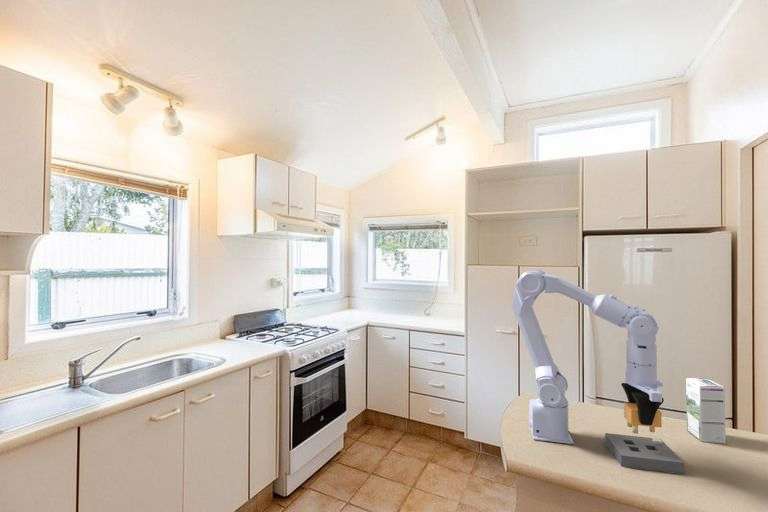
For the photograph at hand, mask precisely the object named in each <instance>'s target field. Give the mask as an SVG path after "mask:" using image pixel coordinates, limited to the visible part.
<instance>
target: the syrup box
mask: <svg viewBox="0 0 768 512" xmlns="http://www.w3.org/2000/svg"><path fill="white" fill-rule="evenodd" d="M685 382H686V383H685V384H686V386H685V390H686V391H685V393H686V399H685V400H686V430H687V432H689V433H690V434H691V435H692V436H694V437H695V438H696V439H697V440H699V441H700V442H702V443H703V442H704V443H711V444H712V443H714V444H726V439H727V438H726V435H727V434H726V396H725V395H726V388H725V386H723V385H722V384H719V383H718V382H715V381H713V380H711V379H708V378H701V377H700V378H699V377H691V378H690V377H688V378H685Z"/></svg>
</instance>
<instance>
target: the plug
mask: <svg viewBox="0 0 768 512" xmlns="http://www.w3.org/2000/svg"><path fill="white" fill-rule="evenodd" d="M623 404H624V405H623V406H624V407H623V410H624V411H623V412H624V413H623V416H624V418H625V420H627V422H626V424H627V425H626V426H627V427H629V428H632V433H634V434H639V426H641V427H649V429H648V430H649V432H650V433H655V432H656V431H655V430H656V428H659V429H660V428H662V411H661V410H659V409H658V410H657V412H656V414H655V417H654V420H653V423H652V425H642V424H641V423H640V420H639V415H638V408H637V405H636V403H629V402H625V401H624V402H623Z"/></svg>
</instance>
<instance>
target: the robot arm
mask: <svg viewBox="0 0 768 512" xmlns="http://www.w3.org/2000/svg"><path fill="white" fill-rule="evenodd" d="M543 292H544V294H555V293H556V294H561V295H563V296H565V297H567V298H569V299H571V300H574V301H575V302H578V303H581V304H583V305H584V306H588V307H590V309H591V311H592V314H593V315H595V316H597V317H598V318H601V319H603V320H605V321H607V322H608V323H611V324H613V325H615V326H617V327H619V328H626V330H627V340H626V343H625V344H626V370H623V378H624V379H625V382H621V384H620V385H621V387H622V389H623V391H624V393H625V395H626V398H627V401H628V402H627V403H636V405H637V408H638V415H639V420H640V423H641V424H642V425H652V423H653V420H654V417H655V414H656V412H657V410H659V408H660V407H661V406H662V404H664V402H665V401H664V400H665V399H664V397H663V393H662V392H661V391H660V387H664V386H663V383H662V382H661V381H660V380H657V378H658V377H657V372H658V371H657V369H658V368H657V365H658V364H657V361H658V359H657V354H658V353H657V352H658V351H657V348H658V347H657V344H656V341H657V336H656V335H657V334H658V332H659V326H658V323H657V321H656V319H655V317H654V316H653V315H652V314H651V313H650V312H647V311H646V310H645V309H644V308H643V309H642V308H641V309H640V308H639V306H637V305H635V304H634V305H633V306H632V305H630V304H628V303H625V302H624V301H621V300H619V299H617V296H616V295H615V294H610V295H609V294H606V293H604V294H600V295H596V294H593V293H591V292H590V291H588V290H586V289H584V288H582V287H579V286H578V285H576V284H574V283H572V282H570V281H568V280H565V279H563V278H562V277H560V276H557V275H554V274H552V273H549V272H544V271H543V270H541V269H532V270H529V271H528V270H527V271H525V272H523V273H522V274H521V275H520V276H519V278H518V279H517V280H516V282H515V283H514V291H513V296H512V300H511V309H512V311H513V313H514V316H515V319H516V321H517V324H518V327H519V328H520V331H521V334H522V337H523V340H524V343H525V345H526V347H527V350H528V353H529V355H530V356H529V357H530V358H531V361H532V365H533V366H534V371H535V380H536V383H537V389H536V393H537V396H538V397H537V398H536V399H535V398H533V399H529V403H528V404H529V405H528V409H529V410H528V417H529V418H528V419H529V420H528V426H529V430H530V433H531V436H532V439H533V440H534V441H535V440H536V441H544V442H553V443H560V444H561V443H562V444H570V445H574V440H573V438H572V437H571V435H570V432H569V401H568V400H567V398H566V392H567V390H568V387H569V383H568V381H567V379H566V377H565V376H564V375H563V374H562V373H561V372H560V370H559V367H558V366H557V364H556V363H555V361H554V359H553V357H552V355H551V352H550V349H549V347H548V344H547V342H546V339H545V337H544V334H543V330H542V329H541V326H540V324H539V320H538V319H537V315H536V313H535V311H534V308H533V307H534V306H533V305H534V304H535V302H536V300H537V299H538V296H539V295H541V294H542V293H543Z"/></svg>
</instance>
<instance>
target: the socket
mask: <svg viewBox="0 0 768 512" xmlns="http://www.w3.org/2000/svg"><path fill="white" fill-rule="evenodd" d="M604 435H605V439H604V441H605V444H606V447H608V449H609V450H610V451H611V453H612V455H613V456H614V458H615V459H616V461H617V462H618V463H619V465H620V466H621V467H623V468H631V469H632V468H634V469H639V470H640V469H641V470H648V471H655V472H656V471H657V472H664V473H673V474H679V475H684V474H685V463H684V461H683V460H682V459H681V458H680V457H679V456H678V455H677V454H676V453H675V452H674V451H673V450H672V449H671V448H670V447H669V446H668V445H667V444H666V443H665V442H664V441H663V440H662V439H661V438H658V437H657V438H656V437H648V436H639V435H638V436H637V435H629V434H628V435H627V434H617V433H608V432H605V434H604Z"/></svg>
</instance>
